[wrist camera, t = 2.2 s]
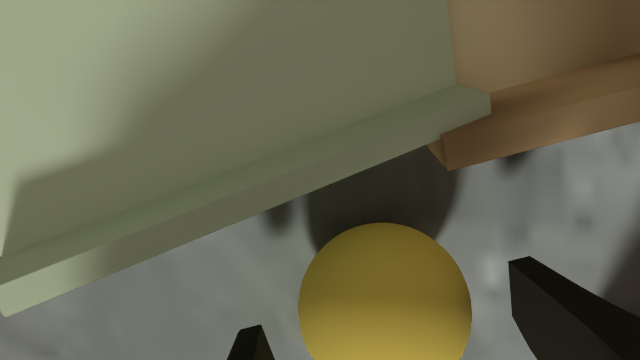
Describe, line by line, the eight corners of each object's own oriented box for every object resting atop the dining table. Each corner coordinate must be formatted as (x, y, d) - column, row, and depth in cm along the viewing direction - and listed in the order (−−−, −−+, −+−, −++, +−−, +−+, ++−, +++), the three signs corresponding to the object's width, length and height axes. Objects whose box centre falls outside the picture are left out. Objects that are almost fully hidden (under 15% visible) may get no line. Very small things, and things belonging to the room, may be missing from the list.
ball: (313, 330, 17) (329, 461, 13) (276, 216, 15) (279, 325, 11) (446, 296, 17) (509, 415, 13) (427, 176, 15) (496, 269, 11)
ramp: (82, 177, 14) (-47, 331, 8) (-59, -98, 11) (-429, -161, 5) (442, 82, 14) (566, 171, 8) (404, -224, 11) (563, -434, 5)
